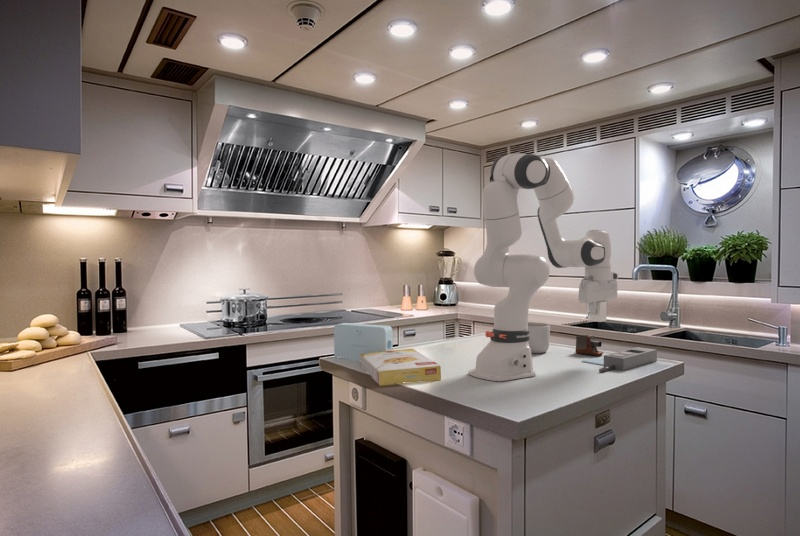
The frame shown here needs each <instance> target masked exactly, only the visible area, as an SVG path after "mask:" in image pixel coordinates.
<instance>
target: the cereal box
mask: <svg viewBox="0 0 800 536" xmlns="http://www.w3.org/2000/svg"><path fill="white" fill-rule="evenodd" d="M360 360H361V361H360V367H361V366H362V367H363V368H364V369H365V370H366V371H367V372H368V373H369V374H370V375H371V376H372V377H371V376H370V375H369V374H368V373H367V372H366V371H365V370H364V369H363V368H362V367H361V368H362V369H363V370H364V371H365V372H366V373H367V374H368V375H369V376H370V377H371V378H372V379H373V380H374V381H375V382H376V383H377V384H378V386H391V385H395V384H394V383H403V382H415V383H419V382H418V381H426V382H434V381H441V380H442V373H441V365H440V364H439V363H437V362H435V361H434V360H432V359H430V358H429V357H427V356H425V355H424V354H422V353H420V352H419V351H417V350H416V349H414V348H407V349H405V348H404V349H396V350H394V349H393V351H383V352H373V353H363V354H361V355H360Z"/></svg>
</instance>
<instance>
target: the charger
mask: <svg viewBox="0 0 800 536" xmlns="http://www.w3.org/2000/svg"><path fill="white" fill-rule="evenodd" d="M595 306H596V309H597V314H596V315H592V314H591V309H590V308H589V321H590V322H597V323H602V322H606V321H607V306H606V301H599V302H596V305H595Z"/></svg>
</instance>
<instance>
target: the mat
mask: <svg viewBox="0 0 800 536" xmlns="http://www.w3.org/2000/svg"><path fill="white" fill-rule="evenodd" d="M581 362H582V363H587V364H592V365H599V366H604V358H599V357H592V358H591V357H590V358H586V359H584V360H581Z"/></svg>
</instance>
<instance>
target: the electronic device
mask: <svg viewBox="0 0 800 536" xmlns="http://www.w3.org/2000/svg"><path fill="white" fill-rule="evenodd" d="M575 338H576V339H575V352H574V353H575V354H576V355H584V354H586V355H587V356H594V357H596V356H597V357H596V358H599V357H600V356H603V354H604V351H602V350H598V348H600V347H602V342H601V341H597V340H596V338H595V336H594V335H592V334H591V335H590V334H589V335H588V334H587V335H576V337H575ZM586 355H585V356H586Z"/></svg>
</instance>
